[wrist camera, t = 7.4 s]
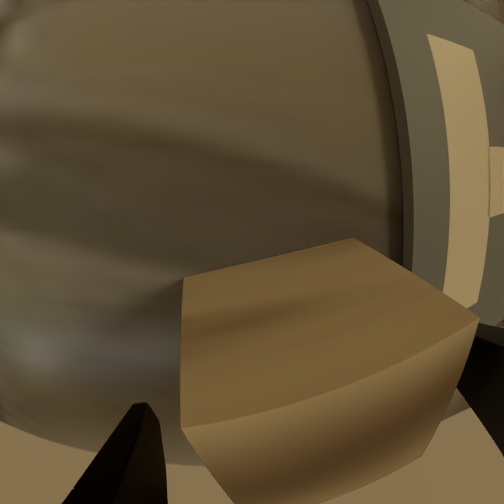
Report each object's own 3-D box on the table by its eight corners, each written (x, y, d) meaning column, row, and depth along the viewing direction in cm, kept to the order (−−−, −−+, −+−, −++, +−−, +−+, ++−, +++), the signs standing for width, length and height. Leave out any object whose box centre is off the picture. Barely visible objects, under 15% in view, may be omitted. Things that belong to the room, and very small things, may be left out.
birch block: (352, 360, 11) (421, 456, 6) (223, 398, 10) (249, 521, 5) (351, 236, 9) (479, 317, 4) (183, 276, 9) (180, 428, 3)
